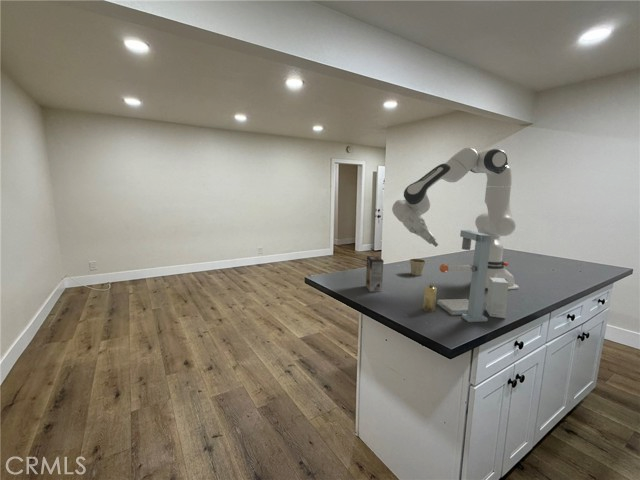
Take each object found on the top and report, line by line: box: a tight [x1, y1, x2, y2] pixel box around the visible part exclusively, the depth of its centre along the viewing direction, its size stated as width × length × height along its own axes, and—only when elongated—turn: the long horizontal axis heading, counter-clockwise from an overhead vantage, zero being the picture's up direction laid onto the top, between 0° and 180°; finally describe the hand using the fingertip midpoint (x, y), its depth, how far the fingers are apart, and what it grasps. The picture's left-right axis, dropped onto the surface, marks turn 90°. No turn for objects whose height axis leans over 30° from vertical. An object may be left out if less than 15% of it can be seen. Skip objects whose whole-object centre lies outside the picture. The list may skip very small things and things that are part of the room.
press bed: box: [437, 298, 485, 316], centre depth 129 cm, size 14×12×2 cm
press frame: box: [459, 229, 491, 323], centre depth 121 cm, size 8×15×34 cm, turn 7°
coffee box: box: [365, 255, 384, 292], centre depth 151 cm, size 9×6×16 cm
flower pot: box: [409, 258, 427, 277], centre depth 180 cm, size 9×9×9 cm
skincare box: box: [485, 277, 509, 319], centre depth 123 cm, size 8×6×15 cm
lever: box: [439, 263, 477, 273], centre depth 114 cm, size 14×3×3 cm, turn 97°
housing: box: [422, 282, 438, 313], centre depth 126 cm, size 5×5×12 cm
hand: (433, 242), depth 139 cm, fingers open, 8 cm apart
